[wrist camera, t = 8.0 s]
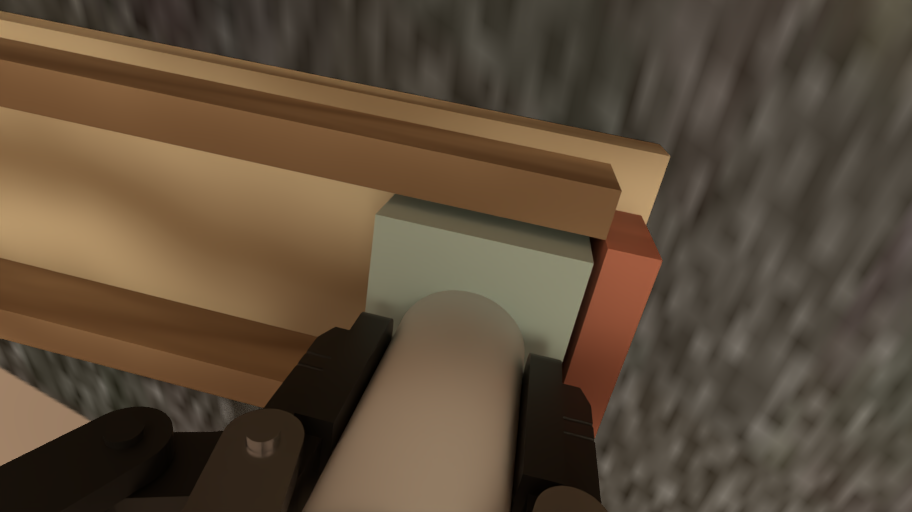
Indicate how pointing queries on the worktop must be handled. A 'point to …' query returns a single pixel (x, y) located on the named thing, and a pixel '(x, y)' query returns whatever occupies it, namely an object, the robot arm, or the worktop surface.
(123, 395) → the worktop surface
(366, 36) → the worktop surface
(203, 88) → the track
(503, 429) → the slider
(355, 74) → the worktop surface
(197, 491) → the robot arm
